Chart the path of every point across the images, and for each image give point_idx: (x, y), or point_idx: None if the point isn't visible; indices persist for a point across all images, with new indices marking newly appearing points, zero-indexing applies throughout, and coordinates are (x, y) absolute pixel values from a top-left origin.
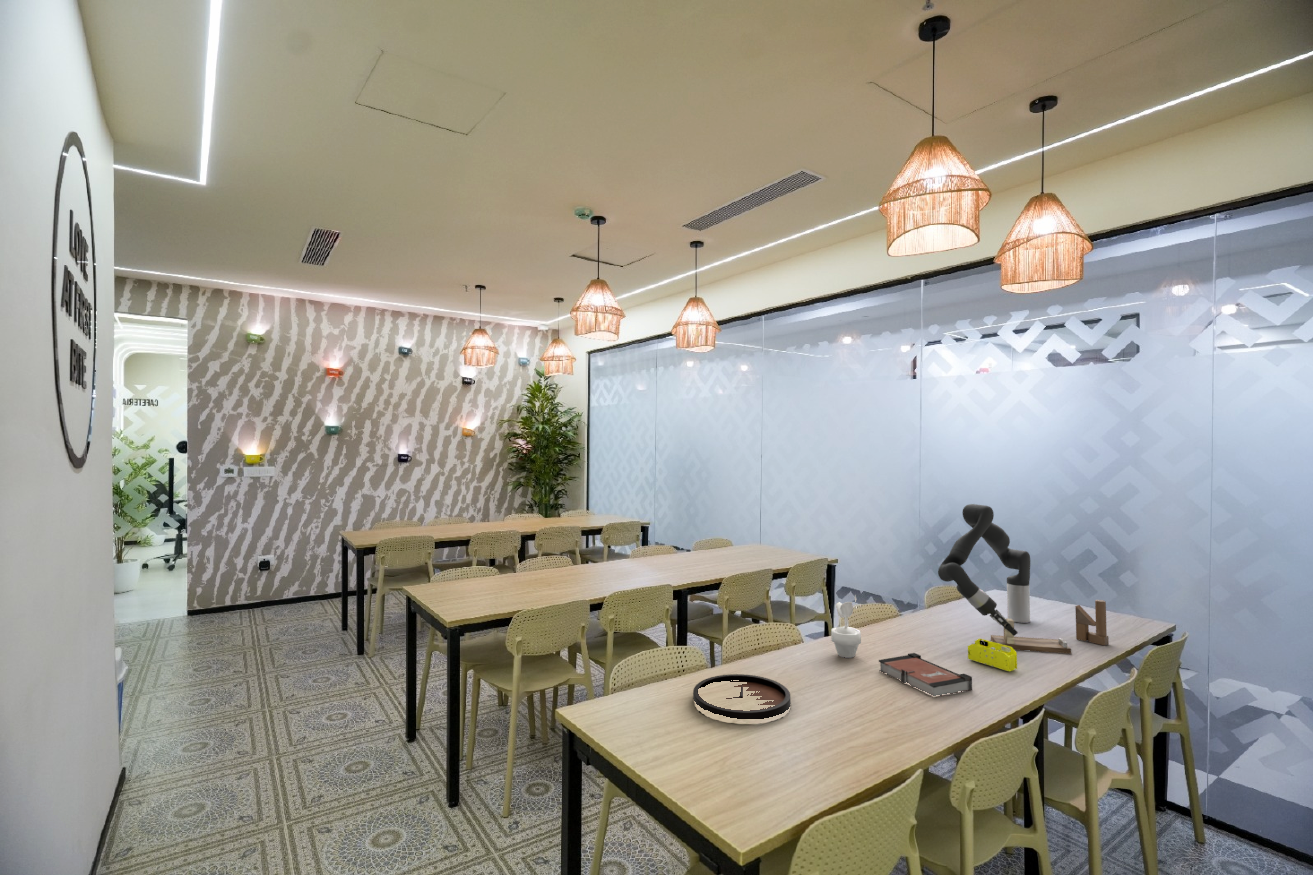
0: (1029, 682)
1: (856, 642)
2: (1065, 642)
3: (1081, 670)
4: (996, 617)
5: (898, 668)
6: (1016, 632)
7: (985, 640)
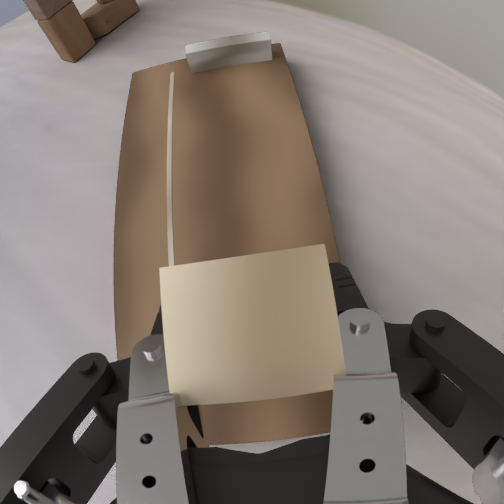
0: None
1: None
2: (265, 35)
3: (484, 88)
4: None
5: None
6: (340, 263)
7: None
